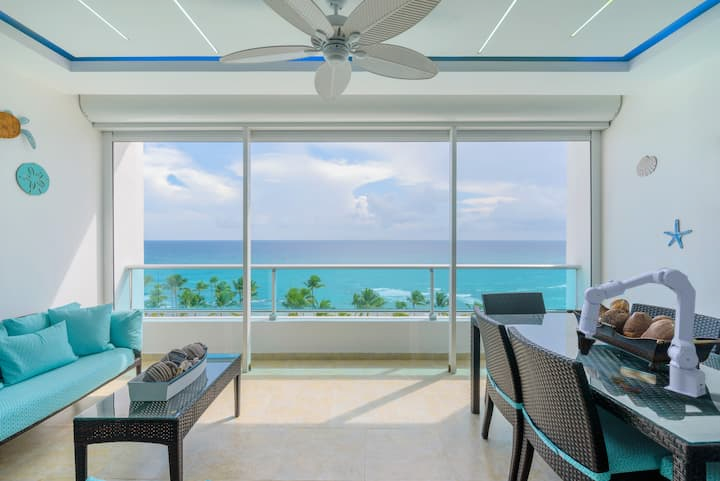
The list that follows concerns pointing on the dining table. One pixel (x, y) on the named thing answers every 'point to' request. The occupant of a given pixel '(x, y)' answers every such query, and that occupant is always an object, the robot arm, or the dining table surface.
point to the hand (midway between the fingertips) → (582, 352)
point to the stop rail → (638, 375)
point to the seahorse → (622, 384)
